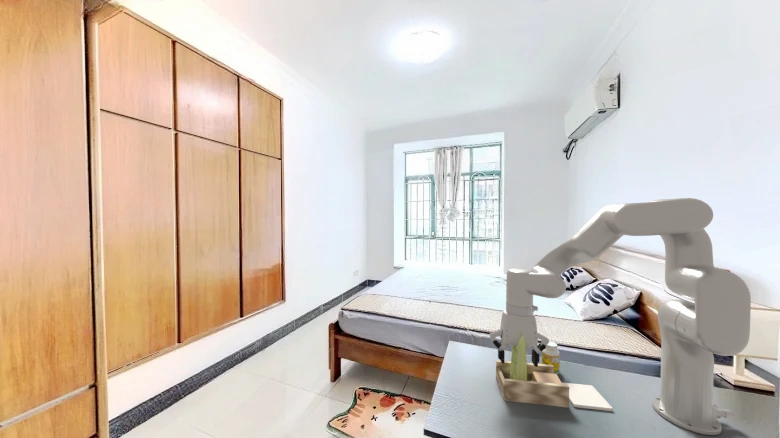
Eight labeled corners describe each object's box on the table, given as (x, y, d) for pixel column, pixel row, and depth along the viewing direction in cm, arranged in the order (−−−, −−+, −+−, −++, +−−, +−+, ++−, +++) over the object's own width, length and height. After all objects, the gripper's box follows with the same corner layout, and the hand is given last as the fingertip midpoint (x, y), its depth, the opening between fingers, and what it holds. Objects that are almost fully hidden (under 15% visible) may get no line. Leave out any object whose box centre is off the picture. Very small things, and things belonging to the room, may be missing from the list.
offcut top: (556, 381, 84) (556, 374, 84) (563, 395, 78) (564, 386, 78) (531, 378, 86) (532, 370, 86) (537, 391, 79) (537, 382, 79)
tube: (532, 392, 82) (533, 330, 81) (523, 398, 79) (524, 334, 79) (515, 382, 87) (515, 323, 86) (505, 388, 84) (506, 327, 83)
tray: (552, 383, 86) (552, 365, 86) (569, 407, 76) (569, 387, 75) (495, 377, 89) (496, 360, 89) (504, 400, 78) (504, 380, 78)
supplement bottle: (563, 374, 91) (563, 347, 91) (547, 375, 91) (548, 347, 90) (552, 365, 96) (553, 339, 96) (538, 366, 96) (538, 340, 96)
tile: (592, 387, 84) (592, 385, 84) (612, 411, 74) (613, 408, 74) (557, 384, 86) (557, 382, 86) (573, 406, 76) (573, 404, 76)
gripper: (544, 306, 85) (543, 358, 85) (487, 303, 87) (486, 353, 88) (554, 315, 77) (553, 373, 78) (492, 311, 80) (491, 366, 81)
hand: (518, 362), depth 83 cm, fingers open, 9 cm apart
